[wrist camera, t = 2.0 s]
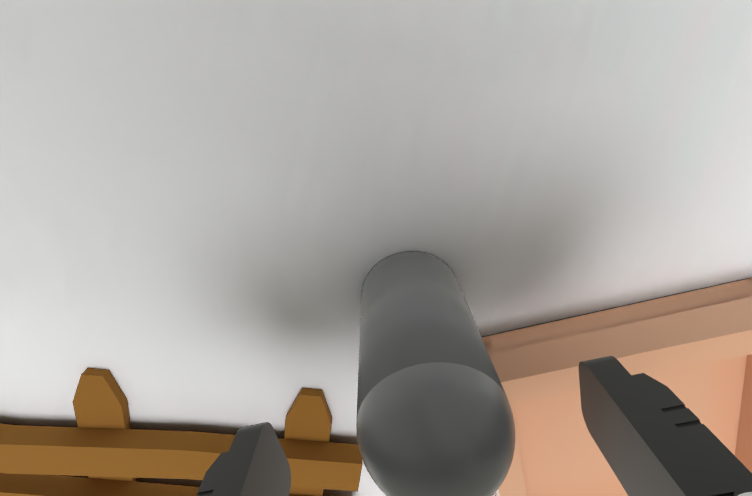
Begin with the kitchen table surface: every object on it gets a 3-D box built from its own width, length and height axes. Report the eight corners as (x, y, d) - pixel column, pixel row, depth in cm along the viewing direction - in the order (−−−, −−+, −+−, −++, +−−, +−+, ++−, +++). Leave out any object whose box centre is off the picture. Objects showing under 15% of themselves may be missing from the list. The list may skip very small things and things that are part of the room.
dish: (462, 341, 16) (477, 387, 13) (759, 276, 15) (830, 313, 13) (500, 520, 20) (517, 578, 18) (733, 478, 19) (783, 534, 17)
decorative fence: (345, 533, 21) (369, 383, 17) (343, 576, 19) (369, 419, 16) (-173, 497, 20) (-274, 322, 16) (-228, 539, 18) (-357, 354, 14)
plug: (349, 264, 14) (330, 452, 7) (449, 240, 14) (531, 410, 7) (375, 345, 16) (380, 570, 9) (466, 325, 16) (549, 539, 8)
